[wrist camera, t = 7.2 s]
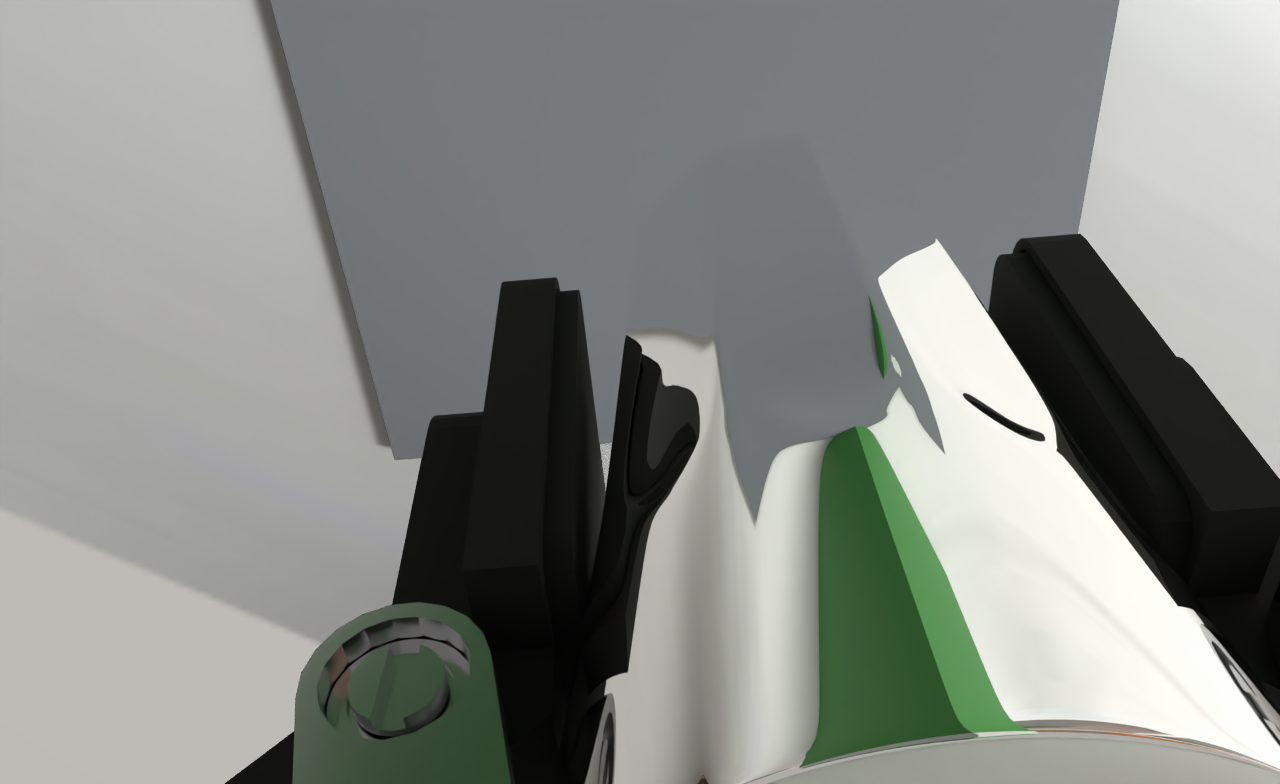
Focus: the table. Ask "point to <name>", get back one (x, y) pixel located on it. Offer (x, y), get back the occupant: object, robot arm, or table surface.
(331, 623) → the table surface
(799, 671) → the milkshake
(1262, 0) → the table surface
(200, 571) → the table surface
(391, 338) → the mouse pad
